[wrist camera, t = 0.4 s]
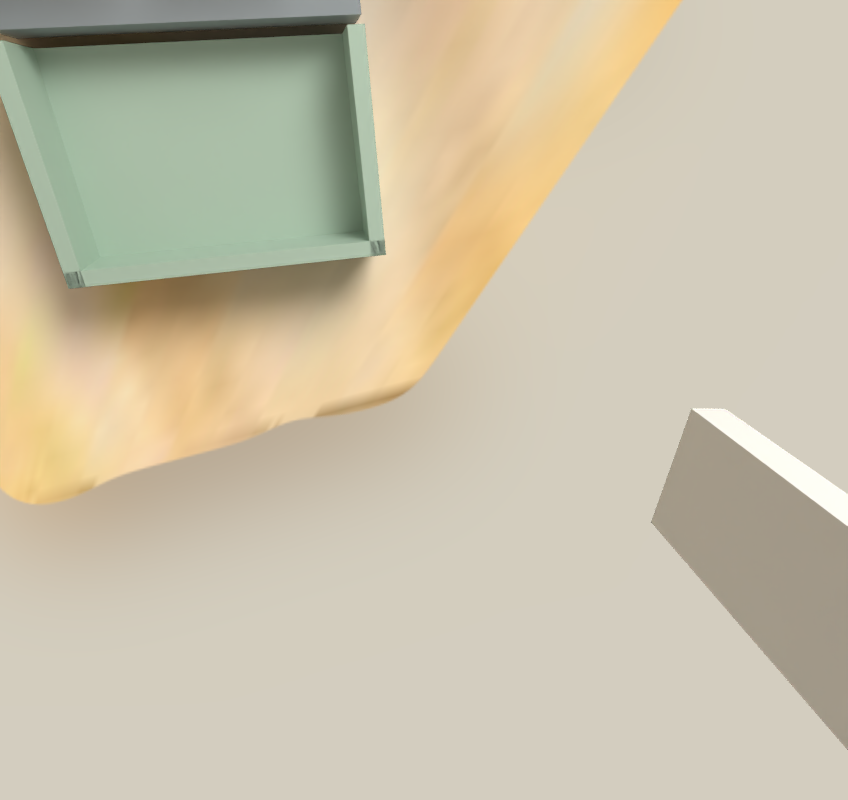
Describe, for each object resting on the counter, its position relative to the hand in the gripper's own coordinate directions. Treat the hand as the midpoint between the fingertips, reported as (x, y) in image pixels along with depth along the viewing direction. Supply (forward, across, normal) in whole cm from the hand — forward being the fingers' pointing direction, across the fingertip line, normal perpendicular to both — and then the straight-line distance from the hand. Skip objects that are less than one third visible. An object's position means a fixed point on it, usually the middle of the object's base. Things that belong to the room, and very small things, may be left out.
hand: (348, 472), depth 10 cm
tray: (+26, -5, +3) cm, 27 cm away
